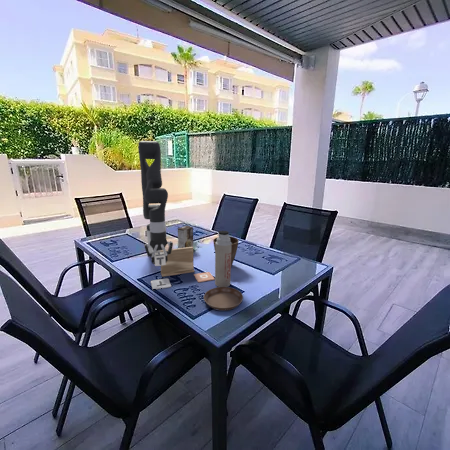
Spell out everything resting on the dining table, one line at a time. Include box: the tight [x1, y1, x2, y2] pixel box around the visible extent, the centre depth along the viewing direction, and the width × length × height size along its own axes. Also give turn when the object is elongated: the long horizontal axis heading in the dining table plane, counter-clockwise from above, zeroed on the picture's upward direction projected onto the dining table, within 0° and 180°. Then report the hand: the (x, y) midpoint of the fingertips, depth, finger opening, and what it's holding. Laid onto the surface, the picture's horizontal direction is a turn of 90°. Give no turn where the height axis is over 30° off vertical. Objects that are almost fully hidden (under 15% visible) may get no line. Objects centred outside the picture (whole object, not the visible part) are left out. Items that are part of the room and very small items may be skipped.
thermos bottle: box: [214, 230, 232, 287], centre depth 130 cm, size 8×8×28 cm
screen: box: [160, 246, 195, 278], centre depth 144 cm, size 5×18×14 cm, turn 112°
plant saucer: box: [203, 286, 244, 312], centre depth 117 cm, size 18×18×3 cm
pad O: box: [193, 271, 215, 283], centre depth 140 cm, size 9×9×1 cm
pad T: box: [150, 277, 172, 290], centre depth 132 cm, size 9×9×1 cm
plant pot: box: [212, 236, 239, 267], centre depth 154 cm, size 15×15×16 cm
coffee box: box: [177, 225, 194, 248], centre depth 179 cm, size 9×6×16 cm
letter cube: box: [154, 252, 166, 267], centre depth 128 cm, size 5×5×5 cm
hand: (159, 262), depth 129 cm, fingers closed on letter cube, 5 cm apart
